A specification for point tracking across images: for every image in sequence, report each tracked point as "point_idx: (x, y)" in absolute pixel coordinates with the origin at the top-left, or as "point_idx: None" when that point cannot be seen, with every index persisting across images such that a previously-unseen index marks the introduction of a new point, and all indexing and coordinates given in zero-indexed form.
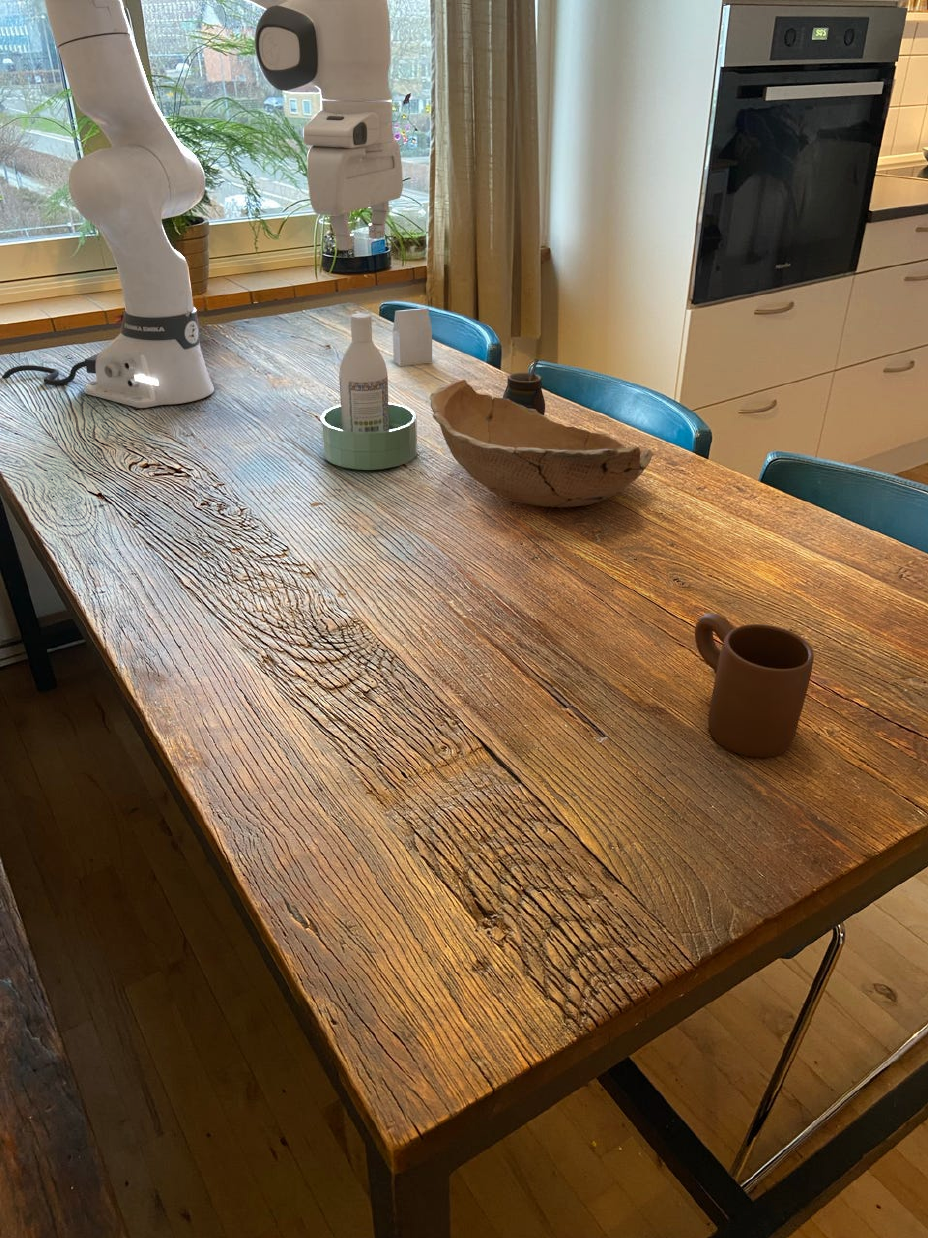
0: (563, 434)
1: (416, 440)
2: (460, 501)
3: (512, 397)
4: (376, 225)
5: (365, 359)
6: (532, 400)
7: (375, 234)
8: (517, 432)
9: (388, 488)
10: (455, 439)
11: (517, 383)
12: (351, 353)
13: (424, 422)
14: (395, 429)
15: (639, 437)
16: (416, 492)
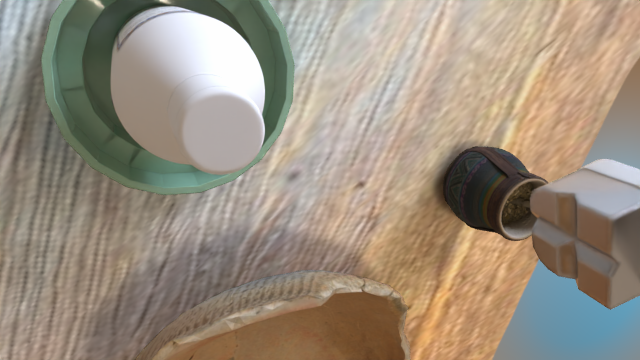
0: (387, 342)
1: None
2: (123, 335)
3: (474, 199)
4: (609, 280)
5: (161, 151)
6: (483, 227)
7: (555, 237)
8: (345, 302)
9: (65, 218)
10: None
11: (494, 217)
12: (142, 106)
13: (387, 26)
14: (157, 190)
15: (499, 324)
16: (94, 264)
